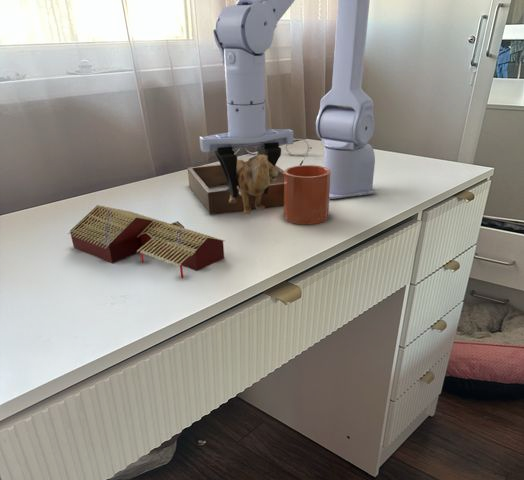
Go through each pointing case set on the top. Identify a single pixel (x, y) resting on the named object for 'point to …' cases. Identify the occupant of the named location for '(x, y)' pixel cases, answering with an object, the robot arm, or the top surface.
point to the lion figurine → (253, 179)
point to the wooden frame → (220, 198)
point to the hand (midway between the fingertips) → (249, 194)
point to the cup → (306, 194)
